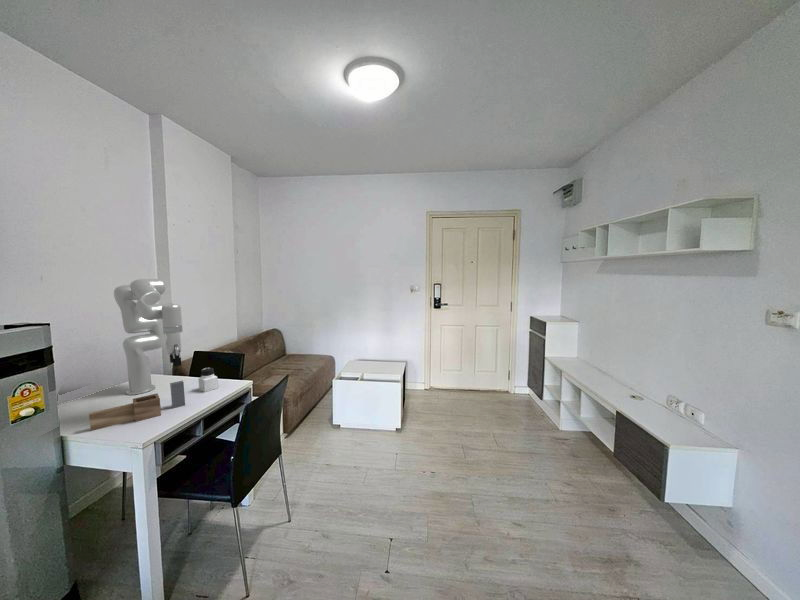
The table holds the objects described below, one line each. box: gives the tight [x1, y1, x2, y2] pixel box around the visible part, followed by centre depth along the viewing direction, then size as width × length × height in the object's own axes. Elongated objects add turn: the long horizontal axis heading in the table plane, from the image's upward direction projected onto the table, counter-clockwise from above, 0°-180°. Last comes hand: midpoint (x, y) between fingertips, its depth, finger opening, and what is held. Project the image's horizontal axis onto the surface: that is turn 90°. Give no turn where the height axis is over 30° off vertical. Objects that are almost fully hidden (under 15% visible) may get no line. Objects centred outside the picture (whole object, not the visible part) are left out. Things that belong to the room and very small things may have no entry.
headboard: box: [88, 392, 162, 432], centre depth 134 cm, size 9×23×8 cm, turn 134°
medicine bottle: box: [198, 367, 219, 393], centre depth 170 cm, size 7×7×12 cm
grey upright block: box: [169, 380, 186, 409], centre depth 148 cm, size 3×5×12 cm, turn 134°
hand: (175, 364), depth 147 cm, fingers open, 9 cm apart
